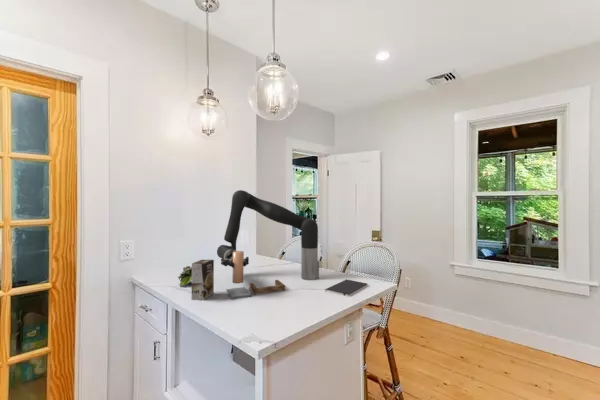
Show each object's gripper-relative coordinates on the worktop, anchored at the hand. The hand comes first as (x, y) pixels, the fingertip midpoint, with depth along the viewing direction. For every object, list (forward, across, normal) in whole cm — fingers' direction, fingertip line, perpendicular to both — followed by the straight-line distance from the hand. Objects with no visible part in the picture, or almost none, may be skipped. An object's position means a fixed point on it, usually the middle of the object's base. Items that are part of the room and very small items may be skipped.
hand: (239, 264), depth 132 cm
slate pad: (-2, 0, +14) cm, 15 cm away
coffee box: (-5, -15, +15) cm, 22 cm away
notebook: (+11, +52, +14) cm, 55 cm away
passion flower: (-28, -20, +15) cm, 37 cm away
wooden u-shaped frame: (-4, +15, +14) cm, 21 cm away
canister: (-2, 0, +8) cm, 9 cm away
